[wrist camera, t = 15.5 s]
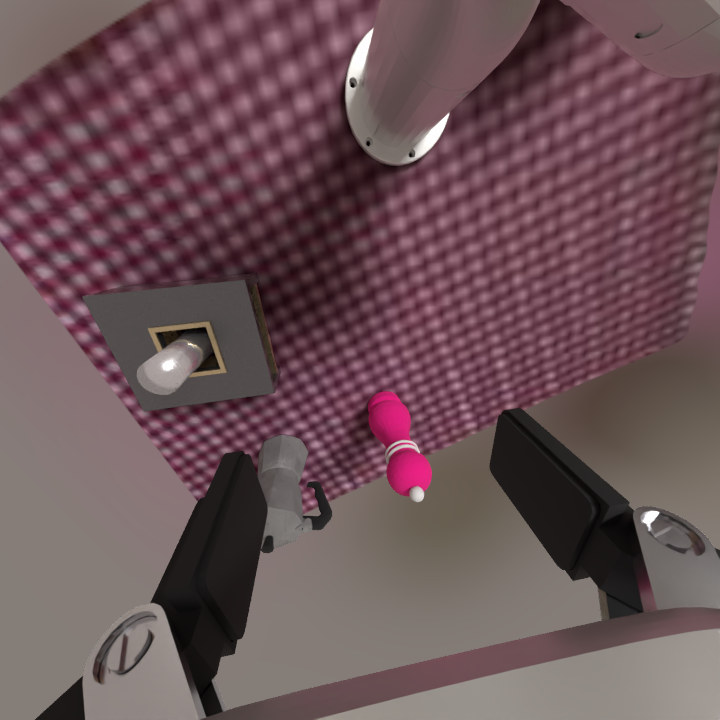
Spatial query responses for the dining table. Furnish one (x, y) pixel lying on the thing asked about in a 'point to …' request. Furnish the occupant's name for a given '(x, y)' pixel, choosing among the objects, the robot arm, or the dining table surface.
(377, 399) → the pepper mill
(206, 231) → the dining table surface
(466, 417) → the dining table surface
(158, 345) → the grey square socket block
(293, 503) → the coffeepot
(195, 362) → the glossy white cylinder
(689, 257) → the dining table surface
